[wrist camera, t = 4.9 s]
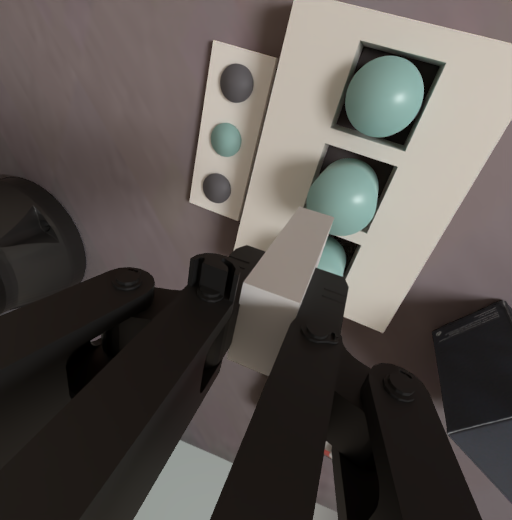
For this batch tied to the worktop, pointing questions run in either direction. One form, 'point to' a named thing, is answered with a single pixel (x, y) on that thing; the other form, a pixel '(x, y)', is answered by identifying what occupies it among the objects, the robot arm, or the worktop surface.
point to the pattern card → (230, 127)
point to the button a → (333, 257)
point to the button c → (384, 96)
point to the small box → (479, 389)
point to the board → (377, 141)
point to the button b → (345, 195)
